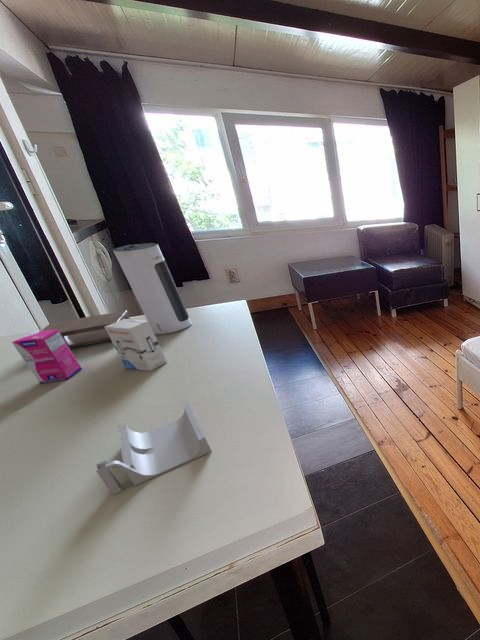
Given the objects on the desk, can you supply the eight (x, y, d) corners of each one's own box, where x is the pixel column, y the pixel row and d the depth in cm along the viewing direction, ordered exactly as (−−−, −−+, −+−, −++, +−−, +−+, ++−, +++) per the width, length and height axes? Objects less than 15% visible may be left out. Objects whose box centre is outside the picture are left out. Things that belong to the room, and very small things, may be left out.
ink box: (124, 368, 93) (101, 326, 88) (143, 359, 97) (122, 318, 92) (150, 371, 91) (128, 328, 86) (169, 361, 95) (149, 320, 90)
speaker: (176, 334, 111) (137, 248, 99) (143, 335, 112) (100, 249, 100) (199, 321, 121) (166, 240, 109) (169, 322, 121) (133, 242, 109)
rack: (44, 357, 101) (31, 337, 98) (61, 341, 111) (50, 323, 108) (126, 341, 108) (116, 322, 106) (135, 327, 118) (126, 310, 115)
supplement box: (39, 384, 87) (9, 341, 82) (56, 372, 92) (29, 331, 87) (68, 380, 89) (41, 337, 83) (83, 368, 94) (58, 328, 89)
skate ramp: (211, 451, 64) (200, 428, 61) (112, 495, 56) (95, 471, 53) (195, 415, 74) (184, 394, 71) (109, 448, 66) (94, 425, 63)
